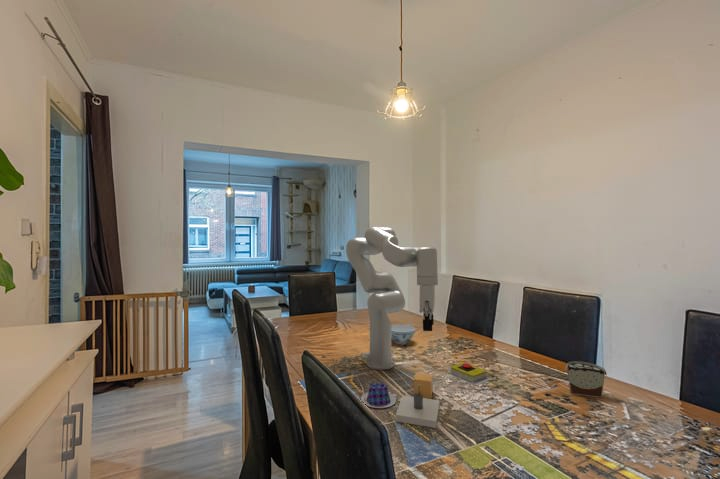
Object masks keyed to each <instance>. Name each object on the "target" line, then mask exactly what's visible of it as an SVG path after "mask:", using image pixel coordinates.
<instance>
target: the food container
mask: <svg viewBox="0 0 720 479" xmlns="http://www.w3.org/2000/svg"><path fill="white" fill-rule="evenodd" d="M565 371H566V372H567V376H568V384H569V385H568V386H569V391H570V392H569V393H570V395H578V396H586V397H592V398H593V397H594V398H600V399H601V398H603V392H604V391H603V390H604V385H605V384H604V382H605V376H607V371H606V368H604V367H603V366H600V365H599V364H595V363H591V362H585V361H577V360H575V361H574V360H573V361H568V362H567V364H566V366H565Z"/></svg>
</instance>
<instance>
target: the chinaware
mask: <svg viewBox="0 0 720 479" xmlns="http://www.w3.org/2000/svg"><path fill="white" fill-rule="evenodd" d="M415 332H416V328H415V326H412V325H409V324H391V340H393V341H394V343H395V345H396V344H397V345H406V344H408V342H409V341H410V340H412V339H413V337H414V335H415Z"/></svg>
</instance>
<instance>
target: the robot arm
mask: <svg viewBox="0 0 720 479" xmlns="http://www.w3.org/2000/svg"><path fill="white" fill-rule="evenodd" d="M345 253H346V258H347V260H348V263H350V265H351V267H352V268H353V269H354V271H355V273H356V276H357V277H358V281H359V282H360V284H361V286H362V288H363V290H364V292H365V293H367V294H370V295H369V297H368V298H367V311H368V317H369V318H368V319H369V352H368V353H365V352H360V357H361V359H363V360H366V362H365V365H366V366H367V368H369V369H373V370H378V371H385V370H390V369H393V368H395V366H396V361H394V359H392V338H391V325H392V322H391V319H390V318H389V316H388V314H393V313H399V312H402V311H403V310H404V309H405V306H406V300H405V296H404V294H403V292H402V290H401V288H400V286H399V284H398V283H397V281H396V279H395V277H394V275H393V274H392V273H390V272H387V271H376V269H375V268H374V266H373V264H372V262H371V261H370V260H369V259H368V258H366V257H365V256H376V255H379V254H382V257H383V258H384V260H385V261H387V262H388V263H389V264H391V265H393V266H395V267H398V268H405V267H406V268H409V267H411V268H412V267H416V286H419V313H420V314H423V316H422V317H423V319H422V331H424V332H432V331H433V326H434V311H435V303H436V301H435V298H436V297H435V296H436V294H435V293H436V292H435V291H436V290H435V288H436V286H438V285H439V277H438V276H439V275H438V273H439V272H438V250H437V249H436V248H435V247H433V246H432V247H431V246H430V247H427V246H424V247H421V246H420V247H419V246H405V247H404V246H399V240H398V237H397V234H396V231H395V230H394V229H393V228H391V227H387V226H373V227H372V226H371V227H368V229H366V231H365V233H364V237H353V238H350V239H349V240H348V241H347V243H346V246H345Z"/></svg>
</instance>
